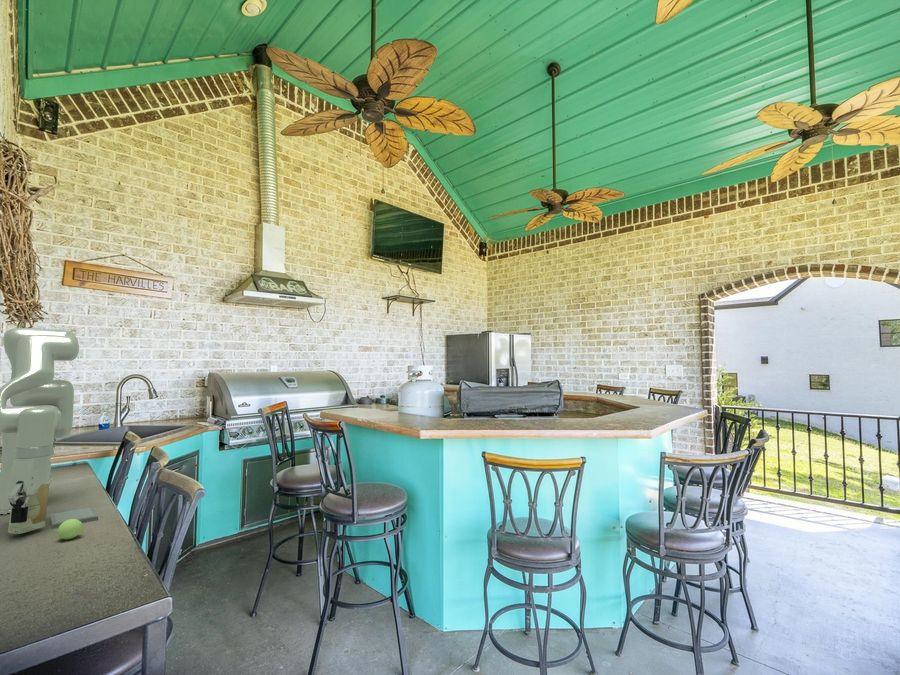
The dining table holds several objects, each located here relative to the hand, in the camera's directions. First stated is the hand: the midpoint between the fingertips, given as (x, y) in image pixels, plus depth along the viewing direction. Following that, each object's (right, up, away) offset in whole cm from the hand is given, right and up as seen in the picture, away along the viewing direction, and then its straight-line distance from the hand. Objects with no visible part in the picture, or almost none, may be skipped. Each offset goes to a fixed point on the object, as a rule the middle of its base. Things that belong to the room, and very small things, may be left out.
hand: (28, 516), depth 116 cm
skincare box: (0, -4, 0) cm, 4 cm away
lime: (+16, -4, -5) cm, 17 cm away
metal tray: (+2, -6, +12) cm, 13 cm away
